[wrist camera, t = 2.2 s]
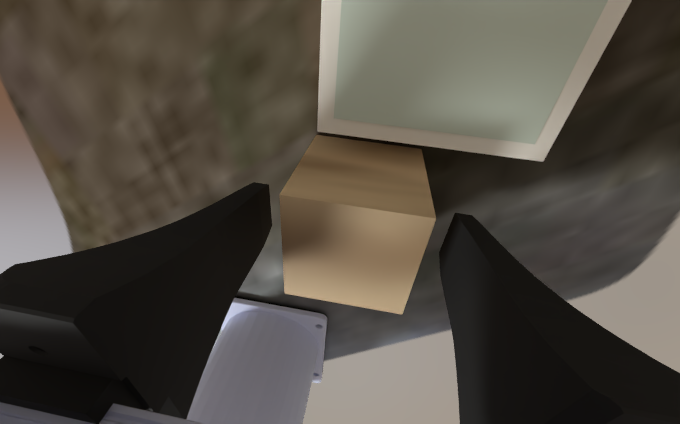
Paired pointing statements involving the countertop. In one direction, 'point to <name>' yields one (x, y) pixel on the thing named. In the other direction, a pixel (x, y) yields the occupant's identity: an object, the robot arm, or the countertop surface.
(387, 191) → the oak block
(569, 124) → the countertop surface
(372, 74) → the tile base
